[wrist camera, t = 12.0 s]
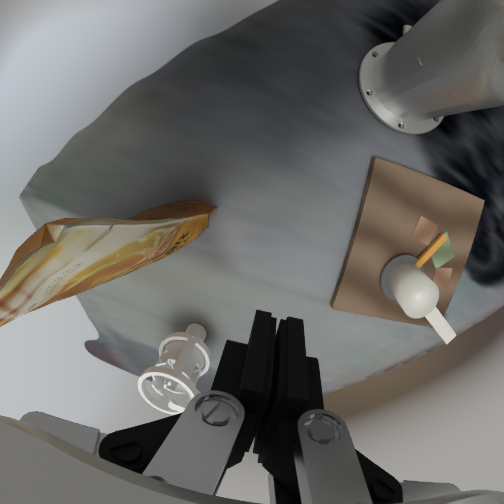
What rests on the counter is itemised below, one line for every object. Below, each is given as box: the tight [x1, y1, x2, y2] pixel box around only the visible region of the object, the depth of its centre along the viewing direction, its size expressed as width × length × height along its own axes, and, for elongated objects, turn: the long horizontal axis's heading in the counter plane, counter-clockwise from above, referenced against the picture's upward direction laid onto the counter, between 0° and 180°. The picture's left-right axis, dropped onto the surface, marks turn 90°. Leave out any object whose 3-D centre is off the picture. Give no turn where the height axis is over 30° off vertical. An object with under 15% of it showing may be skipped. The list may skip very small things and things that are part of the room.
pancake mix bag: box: [0, 200, 217, 327], centre depth 25 cm, size 7×19×28 cm, turn 114°
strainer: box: [138, 323, 211, 415], centre depth 36 cm, size 7×7×15 cm
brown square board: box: [331, 157, 484, 327], centre depth 35 cm, size 20×18×2 cm
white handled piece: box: [380, 233, 456, 344], centre depth 32 cm, size 16×11×7 cm
